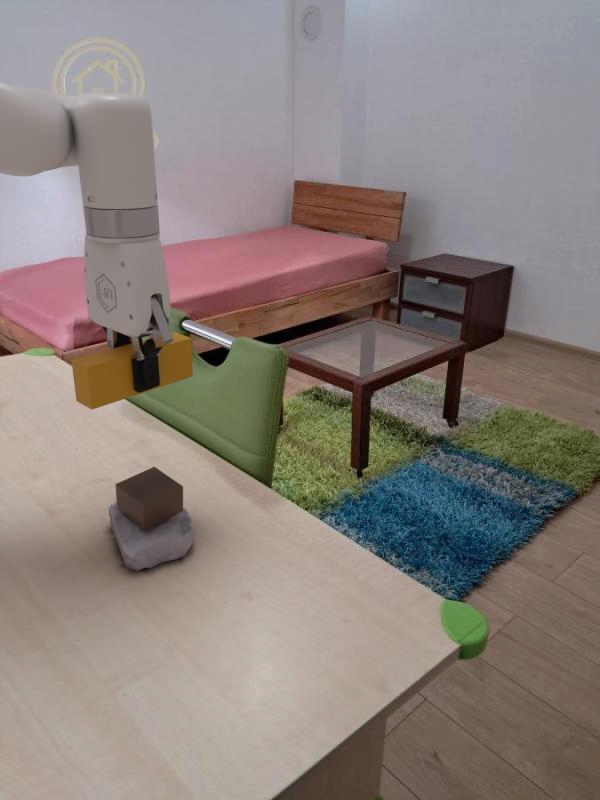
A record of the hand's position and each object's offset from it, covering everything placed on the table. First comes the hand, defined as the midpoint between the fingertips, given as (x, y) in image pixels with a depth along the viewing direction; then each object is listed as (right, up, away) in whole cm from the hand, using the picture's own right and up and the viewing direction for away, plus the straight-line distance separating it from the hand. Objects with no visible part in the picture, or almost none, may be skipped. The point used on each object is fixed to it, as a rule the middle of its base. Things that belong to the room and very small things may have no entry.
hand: (137, 382), depth 74 cm
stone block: (0, -20, +9) cm, 23 cm away
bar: (0, -1, 0) cm, 1 cm away
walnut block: (0, -16, +8) cm, 18 cm away
